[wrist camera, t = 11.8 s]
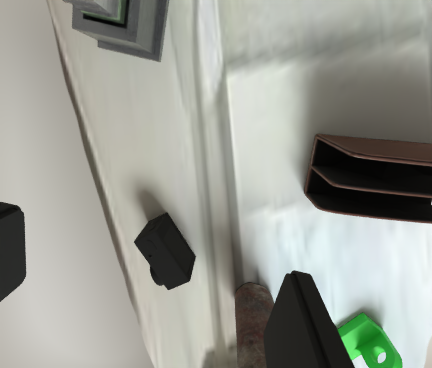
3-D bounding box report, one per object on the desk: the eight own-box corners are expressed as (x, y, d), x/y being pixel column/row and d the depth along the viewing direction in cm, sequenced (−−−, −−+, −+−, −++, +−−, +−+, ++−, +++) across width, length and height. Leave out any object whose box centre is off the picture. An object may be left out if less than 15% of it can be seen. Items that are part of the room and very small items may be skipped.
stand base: (106, -27, 33) (68, -66, 26) (170, -12, 33) (151, -46, 26) (101, 48, 36) (66, 33, 29) (160, 62, 36) (141, 51, 29)
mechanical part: (362, 311, 48) (386, 350, 40) (382, 328, 49) (409, 370, 41) (314, 343, 51) (329, 385, 43) (334, 359, 52) (351, 402, 44)
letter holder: (314, 133, 38) (358, 149, 25) (446, 144, 37) (566, 166, 24) (302, 193, 41) (335, 236, 28) (424, 204, 40) (518, 254, 27)
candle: (280, 289, 47) (311, 414, 28) (264, 316, 50) (283, 449, 31) (243, 276, 47) (249, 393, 28) (229, 304, 49) (226, 430, 30)
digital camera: (142, 223, 45) (126, 244, 38) (166, 211, 44) (155, 230, 37) (171, 267, 47) (161, 293, 41) (195, 256, 46) (189, 282, 40)
